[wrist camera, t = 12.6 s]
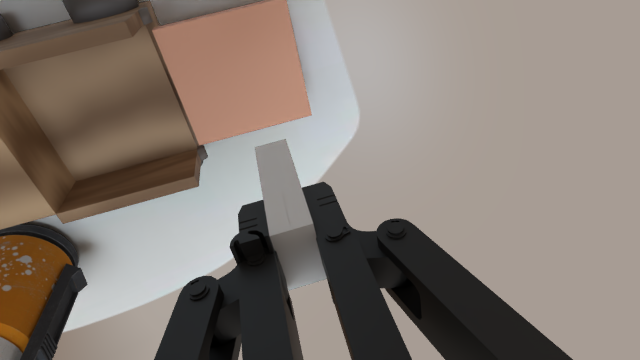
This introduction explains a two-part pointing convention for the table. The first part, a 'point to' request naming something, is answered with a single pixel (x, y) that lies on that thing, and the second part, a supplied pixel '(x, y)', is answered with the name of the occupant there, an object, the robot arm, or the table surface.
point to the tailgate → (235, 69)
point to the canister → (35, 290)
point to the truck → (90, 116)
